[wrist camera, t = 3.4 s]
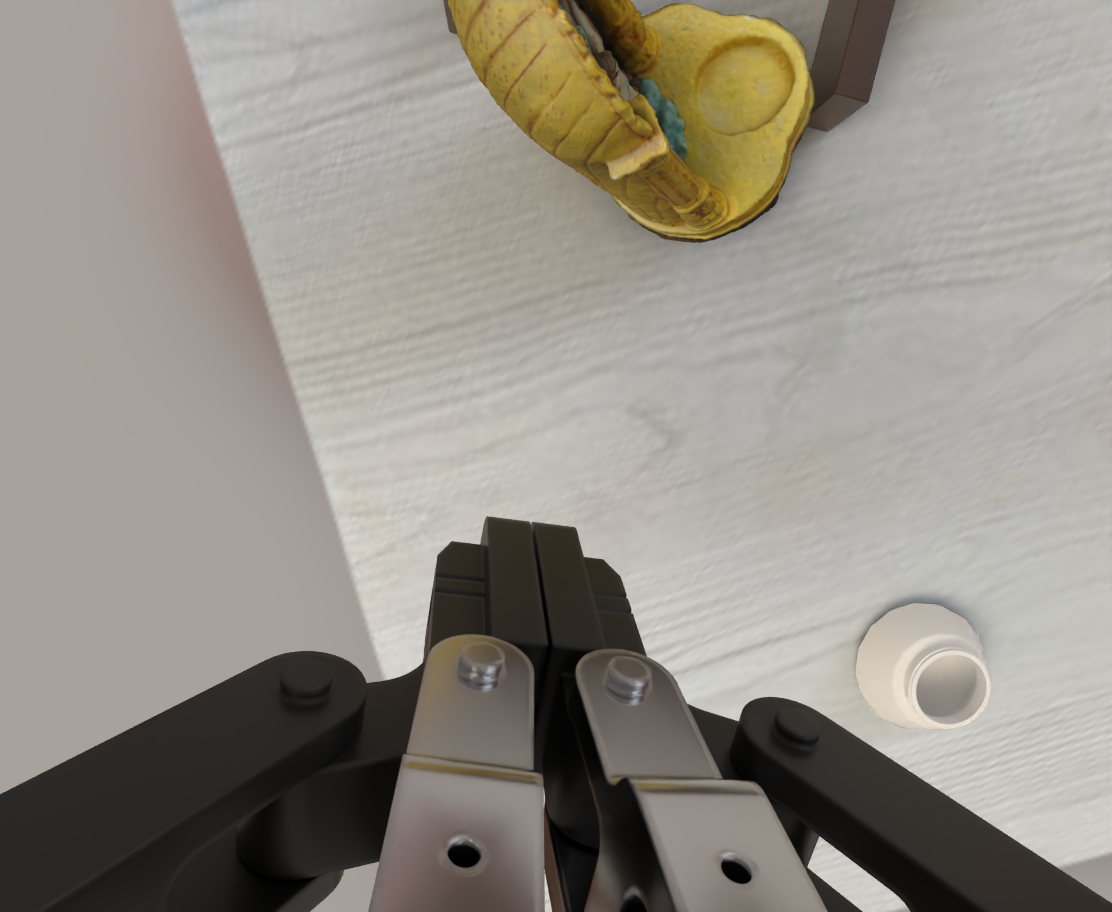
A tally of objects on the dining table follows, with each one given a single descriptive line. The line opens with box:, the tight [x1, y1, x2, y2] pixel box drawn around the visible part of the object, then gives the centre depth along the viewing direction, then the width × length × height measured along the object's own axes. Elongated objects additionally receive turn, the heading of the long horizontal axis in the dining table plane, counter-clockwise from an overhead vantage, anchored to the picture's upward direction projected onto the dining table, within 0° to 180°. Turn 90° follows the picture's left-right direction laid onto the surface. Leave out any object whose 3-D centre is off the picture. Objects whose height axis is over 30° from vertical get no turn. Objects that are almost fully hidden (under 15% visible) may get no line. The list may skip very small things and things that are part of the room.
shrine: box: [448, 0, 815, 243], centre depth 23 cm, size 12×8×15 cm
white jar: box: [855, 603, 991, 729], centre depth 31 cm, size 5×3×5 cm
